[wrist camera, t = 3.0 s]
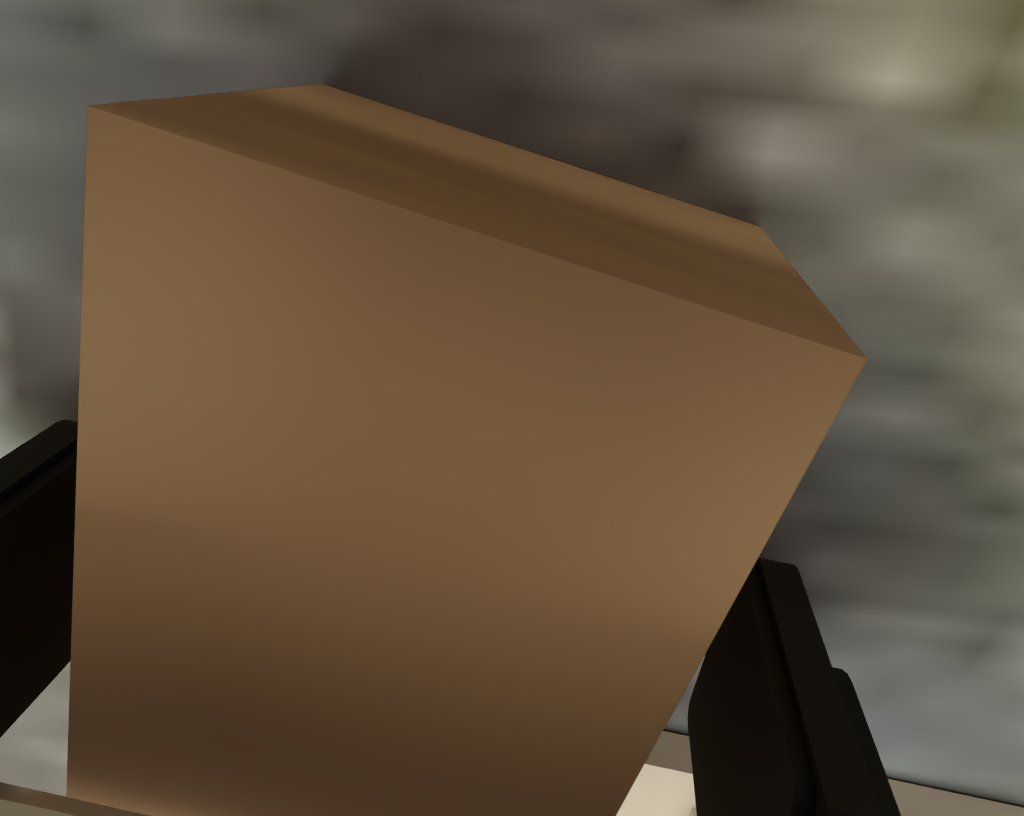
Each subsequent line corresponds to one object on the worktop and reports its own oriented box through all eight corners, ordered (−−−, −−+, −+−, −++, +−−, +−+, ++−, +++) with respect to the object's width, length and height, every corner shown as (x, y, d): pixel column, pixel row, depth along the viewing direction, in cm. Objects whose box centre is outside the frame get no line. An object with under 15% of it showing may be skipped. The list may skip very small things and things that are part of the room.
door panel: (328, 83, 10) (28, 110, 5) (757, 223, 10) (893, 391, 5) (226, 700, 15) (31, 1018, 10) (508, 792, 15) (451, 1152, 10)
